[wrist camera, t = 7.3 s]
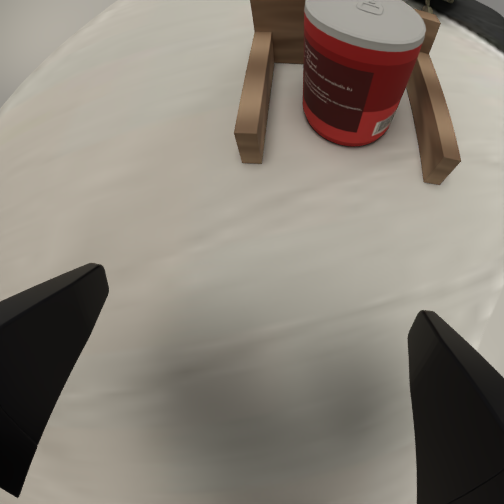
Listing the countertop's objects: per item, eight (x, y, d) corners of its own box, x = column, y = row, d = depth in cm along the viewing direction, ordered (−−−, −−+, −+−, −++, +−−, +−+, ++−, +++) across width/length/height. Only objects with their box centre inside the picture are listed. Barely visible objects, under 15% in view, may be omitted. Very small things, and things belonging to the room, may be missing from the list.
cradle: (439, 184, 21) (487, 130, 13) (242, 162, 23) (222, 92, 15) (414, 71, 24) (435, 14, 16) (260, 53, 26) (251, -10, 18)
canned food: (385, 89, 24) (413, -4, 13) (391, 157, 22) (440, 59, 11) (305, 76, 25) (306, -23, 14) (298, 142, 23) (299, 30, 12)
